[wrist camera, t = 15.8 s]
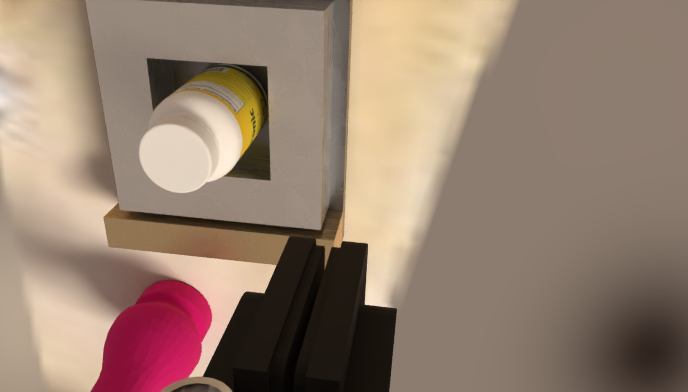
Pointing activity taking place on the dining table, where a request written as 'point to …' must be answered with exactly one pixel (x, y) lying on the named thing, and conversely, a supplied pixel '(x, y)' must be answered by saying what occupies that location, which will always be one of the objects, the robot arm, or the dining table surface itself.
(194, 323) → the pepper mill
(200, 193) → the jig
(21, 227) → the dining table surface
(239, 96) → the supplement bottle
